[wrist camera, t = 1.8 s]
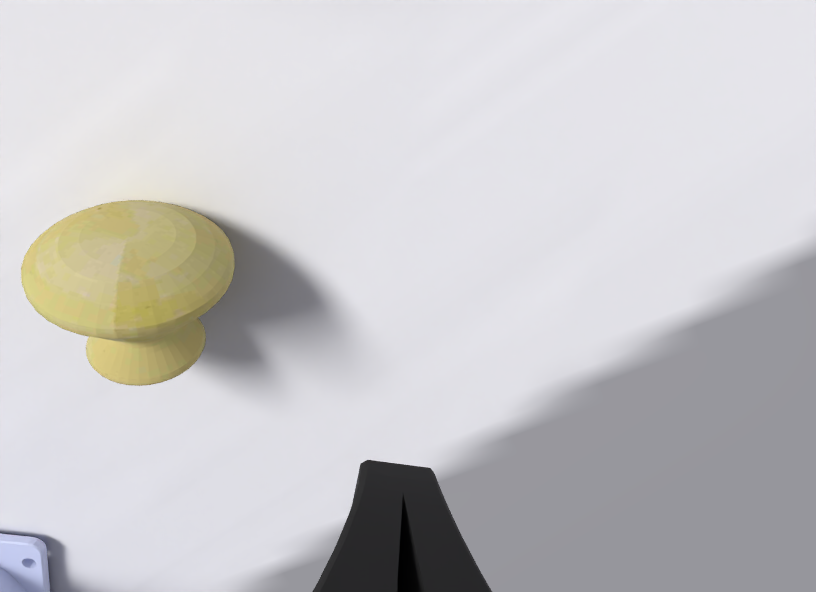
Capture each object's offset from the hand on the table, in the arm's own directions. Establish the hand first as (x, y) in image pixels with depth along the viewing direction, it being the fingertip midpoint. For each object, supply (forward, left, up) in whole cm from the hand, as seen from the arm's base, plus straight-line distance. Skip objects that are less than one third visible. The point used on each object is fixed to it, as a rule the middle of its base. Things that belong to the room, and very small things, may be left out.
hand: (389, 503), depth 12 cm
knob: (0, +7, -9) cm, 11 cm away
